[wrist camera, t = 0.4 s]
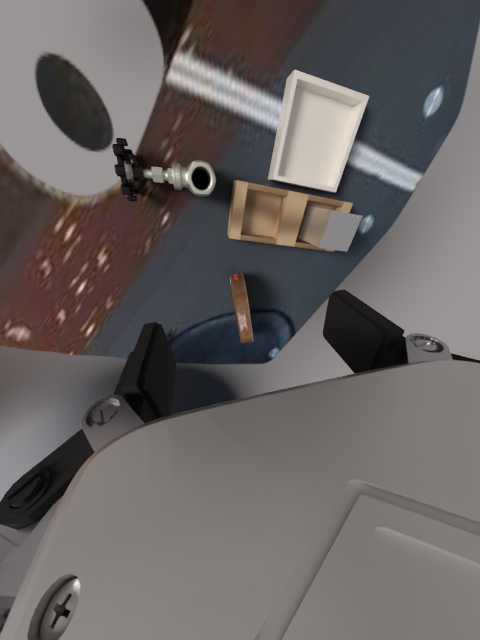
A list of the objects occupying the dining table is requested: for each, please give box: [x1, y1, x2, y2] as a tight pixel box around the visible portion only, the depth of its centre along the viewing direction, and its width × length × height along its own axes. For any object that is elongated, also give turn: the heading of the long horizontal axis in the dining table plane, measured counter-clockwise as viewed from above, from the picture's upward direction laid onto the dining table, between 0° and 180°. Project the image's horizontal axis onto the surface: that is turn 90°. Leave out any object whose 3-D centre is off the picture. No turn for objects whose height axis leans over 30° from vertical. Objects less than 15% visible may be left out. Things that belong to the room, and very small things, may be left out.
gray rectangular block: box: [297, 205, 362, 252], centre depth 33 cm, size 5×5×9 cm
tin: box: [229, 272, 253, 343], centre depth 40 cm, size 15×3×8 cm, turn 8°
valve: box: [113, 138, 216, 201], centre depth 27 cm, size 7×7×12 cm
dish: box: [268, 70, 369, 192], centre depth 29 cm, size 11×11×2 cm
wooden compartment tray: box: [227, 180, 353, 252], centre depth 35 cm, size 8×20×3 cm, turn 81°
